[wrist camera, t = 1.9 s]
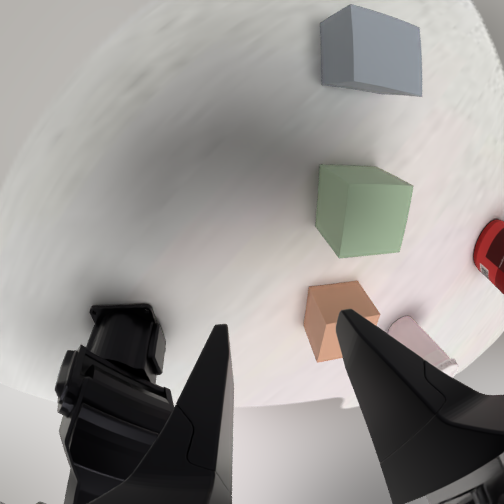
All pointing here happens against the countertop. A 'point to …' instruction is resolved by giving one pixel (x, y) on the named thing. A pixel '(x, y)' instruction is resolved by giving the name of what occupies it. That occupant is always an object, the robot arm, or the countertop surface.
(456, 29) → the countertop surface
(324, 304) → the terracotta block
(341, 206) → the green block
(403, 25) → the slate block
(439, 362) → the smoothie
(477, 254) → the canned food
